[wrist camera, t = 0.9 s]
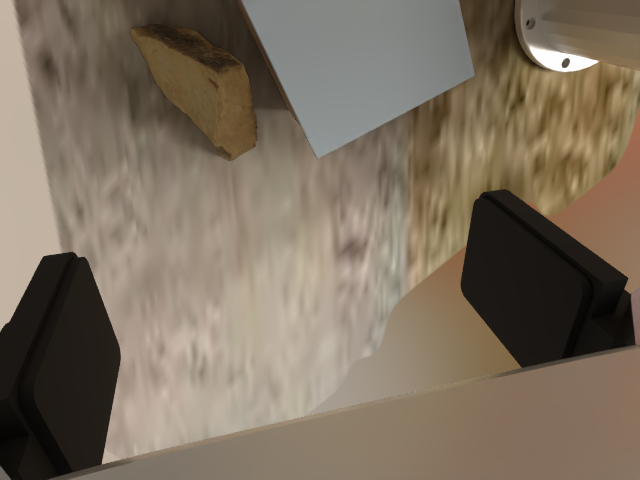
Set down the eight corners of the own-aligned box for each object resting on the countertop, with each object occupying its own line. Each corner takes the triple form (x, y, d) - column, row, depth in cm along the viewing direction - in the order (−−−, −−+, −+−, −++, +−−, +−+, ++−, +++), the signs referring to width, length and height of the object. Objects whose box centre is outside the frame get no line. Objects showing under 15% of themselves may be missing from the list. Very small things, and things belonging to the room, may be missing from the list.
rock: (287, 168, 37) (296, 38, 31) (231, 221, 30) (228, 70, 24) (176, 134, 40) (164, 8, 34) (102, 175, 33) (71, 30, 27)
